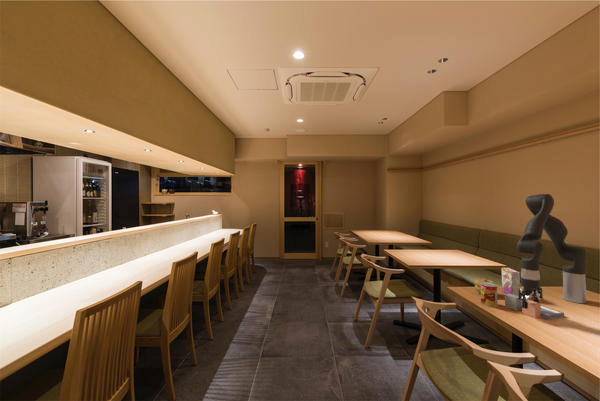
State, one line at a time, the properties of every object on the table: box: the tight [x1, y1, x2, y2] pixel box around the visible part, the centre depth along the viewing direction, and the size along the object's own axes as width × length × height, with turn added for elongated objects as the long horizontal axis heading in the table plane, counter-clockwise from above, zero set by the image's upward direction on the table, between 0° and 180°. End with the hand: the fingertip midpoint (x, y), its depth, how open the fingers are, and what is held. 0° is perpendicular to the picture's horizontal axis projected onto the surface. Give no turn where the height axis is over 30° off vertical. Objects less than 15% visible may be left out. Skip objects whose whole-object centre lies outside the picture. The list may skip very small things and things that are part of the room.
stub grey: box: [504, 293, 522, 311], centre depth 140 cm, size 4×6×7 cm, turn 15°
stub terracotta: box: [521, 299, 542, 319], centre depth 132 cm, size 4×6×7 cm, turn 15°
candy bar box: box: [501, 267, 521, 296], centre depth 160 cm, size 11×5×16 cm, turn 168°
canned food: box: [480, 282, 498, 308], centre depth 146 cm, size 8×8×12 cm
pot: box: [474, 278, 496, 294], centre depth 162 cm, size 12×12×10 cm
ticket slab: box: [521, 300, 565, 321], centre depth 138 cm, size 12×20×2 cm, turn 15°
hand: (530, 307), depth 132 cm, fingers open, 8 cm apart
